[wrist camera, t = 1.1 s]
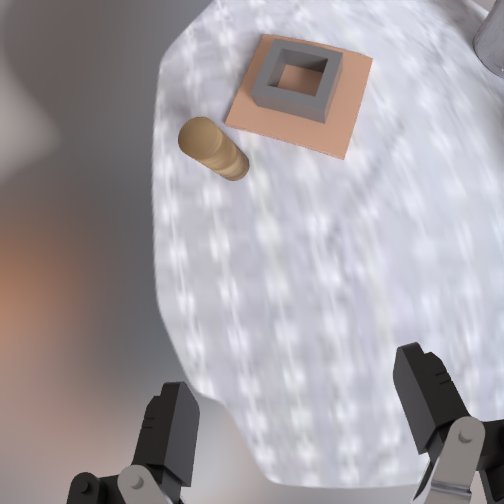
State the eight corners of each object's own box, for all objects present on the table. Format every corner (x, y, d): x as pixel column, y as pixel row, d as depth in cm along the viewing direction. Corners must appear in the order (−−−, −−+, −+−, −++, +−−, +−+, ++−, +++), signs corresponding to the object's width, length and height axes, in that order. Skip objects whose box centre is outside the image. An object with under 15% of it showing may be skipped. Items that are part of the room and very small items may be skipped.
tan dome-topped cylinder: (225, 148, 39) (187, 113, 27) (253, 155, 38) (223, 121, 26) (215, 176, 39) (172, 151, 28) (243, 184, 38) (207, 160, 27)
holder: (265, 37, 37) (257, 18, 32) (372, 61, 34) (375, 41, 29) (226, 126, 39) (214, 112, 34) (343, 160, 35) (345, 147, 30)
